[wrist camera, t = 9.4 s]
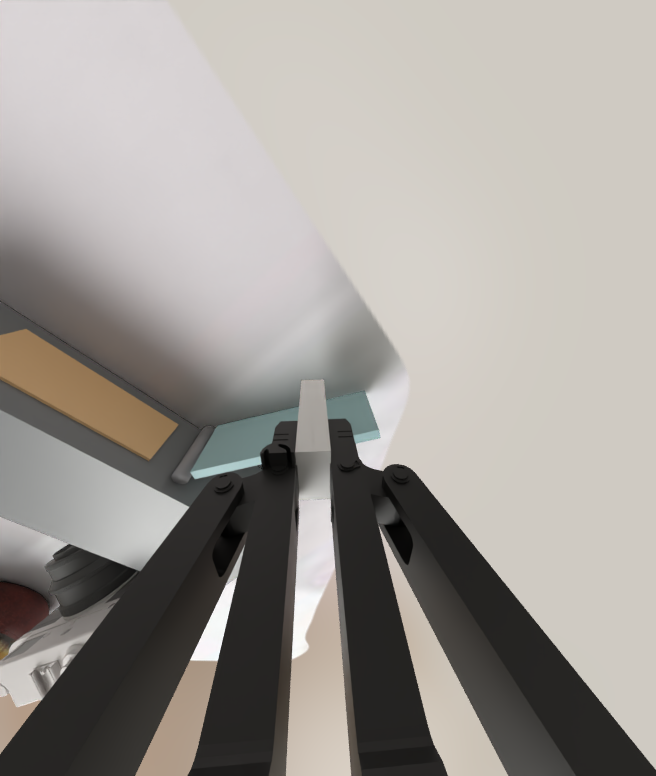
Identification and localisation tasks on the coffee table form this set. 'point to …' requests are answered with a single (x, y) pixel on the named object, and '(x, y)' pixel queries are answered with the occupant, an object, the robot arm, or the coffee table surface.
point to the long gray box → (88, 450)
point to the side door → (263, 437)
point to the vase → (18, 613)
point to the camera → (63, 622)
